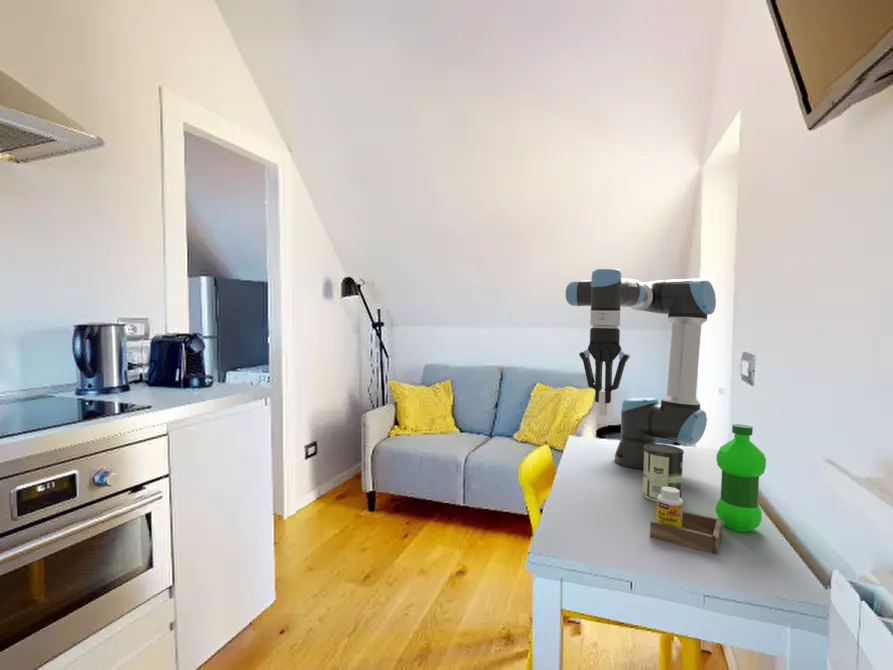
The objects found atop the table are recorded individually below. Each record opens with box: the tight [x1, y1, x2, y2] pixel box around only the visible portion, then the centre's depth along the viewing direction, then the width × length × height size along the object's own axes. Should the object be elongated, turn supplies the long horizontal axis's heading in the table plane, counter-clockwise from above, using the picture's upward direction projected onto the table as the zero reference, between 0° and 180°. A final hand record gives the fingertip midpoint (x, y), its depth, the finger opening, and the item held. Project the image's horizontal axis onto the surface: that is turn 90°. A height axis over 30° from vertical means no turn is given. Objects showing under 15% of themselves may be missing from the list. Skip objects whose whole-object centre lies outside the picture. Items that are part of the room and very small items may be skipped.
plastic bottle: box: [715, 423, 767, 533], centre depth 115 cm, size 10×10×25 cm
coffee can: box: [642, 443, 685, 503], centre depth 134 cm, size 10×10×14 cm
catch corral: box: [649, 510, 723, 555], centre depth 110 cm, size 12×14×4 cm
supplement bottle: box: [655, 487, 684, 528], centre depth 111 cm, size 6×6×10 cm
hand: (602, 414), depth 126 cm, fingers closed
